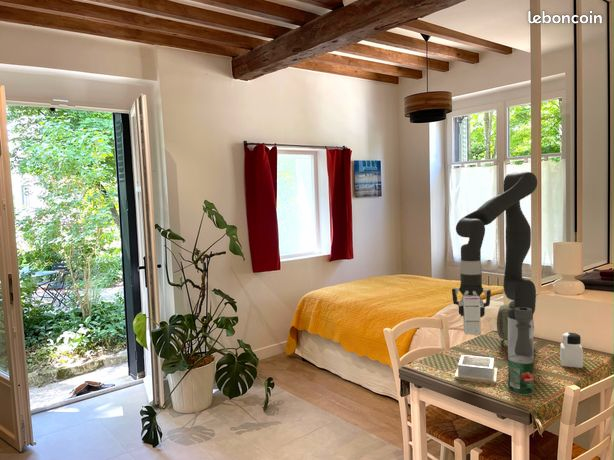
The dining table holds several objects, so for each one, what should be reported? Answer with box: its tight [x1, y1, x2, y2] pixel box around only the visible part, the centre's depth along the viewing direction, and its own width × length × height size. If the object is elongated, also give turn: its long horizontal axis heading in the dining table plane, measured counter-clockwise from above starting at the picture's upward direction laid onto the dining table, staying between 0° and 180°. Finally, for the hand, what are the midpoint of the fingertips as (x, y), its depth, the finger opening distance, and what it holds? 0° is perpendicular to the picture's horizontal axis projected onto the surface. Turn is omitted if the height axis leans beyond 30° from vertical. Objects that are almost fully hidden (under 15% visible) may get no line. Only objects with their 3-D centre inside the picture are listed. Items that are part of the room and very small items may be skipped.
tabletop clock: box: [496, 295, 535, 345], centre depth 200 cm, size 14×9×25 cm, turn 65°
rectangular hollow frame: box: [454, 354, 499, 385], centre depth 172 cm, size 14×14×5 cm
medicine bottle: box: [559, 332, 584, 369], centre depth 179 cm, size 7×7×12 cm
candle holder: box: [514, 307, 534, 357], centre depth 168 cm, size 6×6×25 cm
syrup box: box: [462, 295, 482, 336], centre depth 173 cm, size 6×6×14 cm
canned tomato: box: [507, 355, 535, 396], centre depth 156 cm, size 8×8×11 cm
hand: (471, 316), depth 173 cm, fingers closed on syrup box, 6 cm apart
